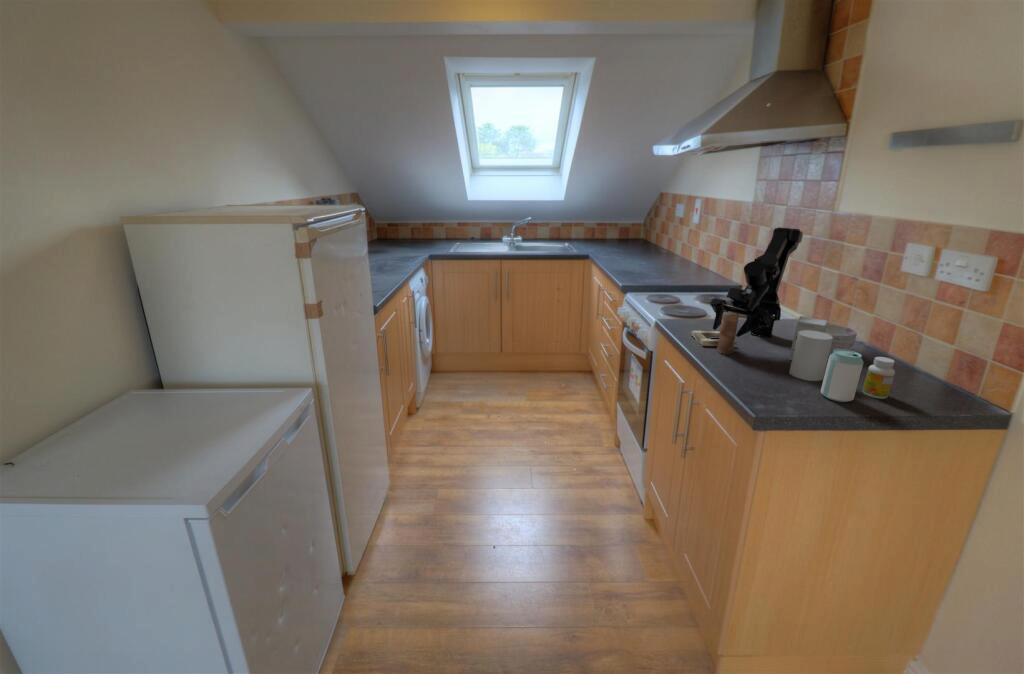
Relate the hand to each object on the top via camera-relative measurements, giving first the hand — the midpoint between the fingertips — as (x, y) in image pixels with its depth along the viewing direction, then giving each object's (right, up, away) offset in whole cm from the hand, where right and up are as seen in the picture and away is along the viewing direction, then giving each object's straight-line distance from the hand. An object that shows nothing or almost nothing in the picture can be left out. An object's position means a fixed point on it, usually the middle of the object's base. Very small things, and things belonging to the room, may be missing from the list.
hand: (725, 332), depth 147 cm
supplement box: (+23, -9, -3) cm, 24 cm away
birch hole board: (+1, -3, +12) cm, 13 cm away
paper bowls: (+34, -6, +5) cm, 35 cm away
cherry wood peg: (+1, -6, +3) cm, 7 cm away
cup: (+16, -12, -14) cm, 25 cm away
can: (+16, -17, -28) cm, 36 cm away
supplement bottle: (+27, -16, -26) cm, 41 cm away
